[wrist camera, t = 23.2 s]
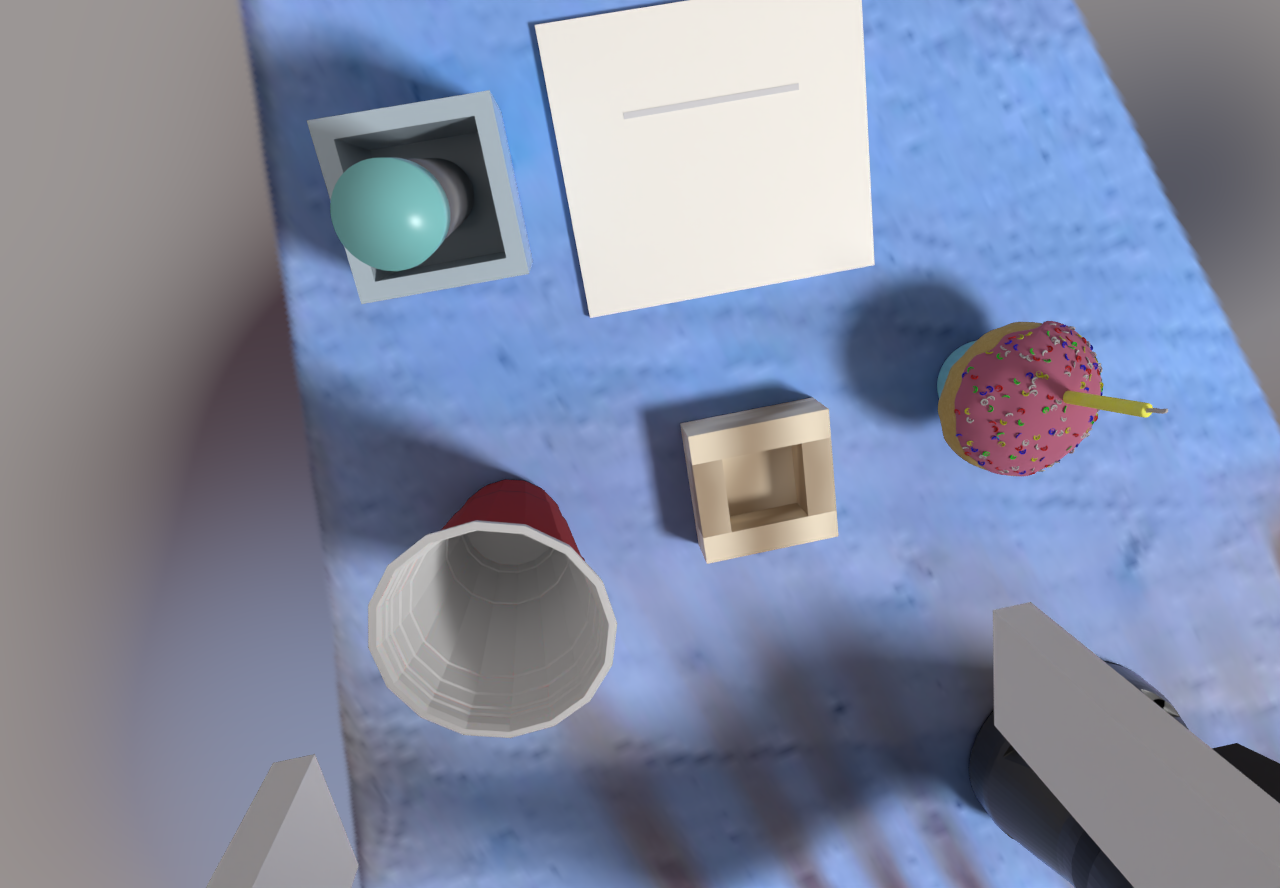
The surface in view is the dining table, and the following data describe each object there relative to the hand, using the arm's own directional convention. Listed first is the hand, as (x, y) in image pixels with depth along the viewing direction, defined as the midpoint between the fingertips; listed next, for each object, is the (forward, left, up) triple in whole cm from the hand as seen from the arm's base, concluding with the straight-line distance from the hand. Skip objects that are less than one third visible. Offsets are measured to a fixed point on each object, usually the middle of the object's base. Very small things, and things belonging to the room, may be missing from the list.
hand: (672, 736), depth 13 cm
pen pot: (+5, -11, -28) cm, 30 cm away
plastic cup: (+6, +7, -28) cm, 29 cm away
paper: (-9, -11, -28) cm, 31 cm away
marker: (+5, -11, -26) cm, 29 cm away
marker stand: (-9, +7, -28) cm, 30 cm away
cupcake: (-23, +4, -28) cm, 36 cm away
